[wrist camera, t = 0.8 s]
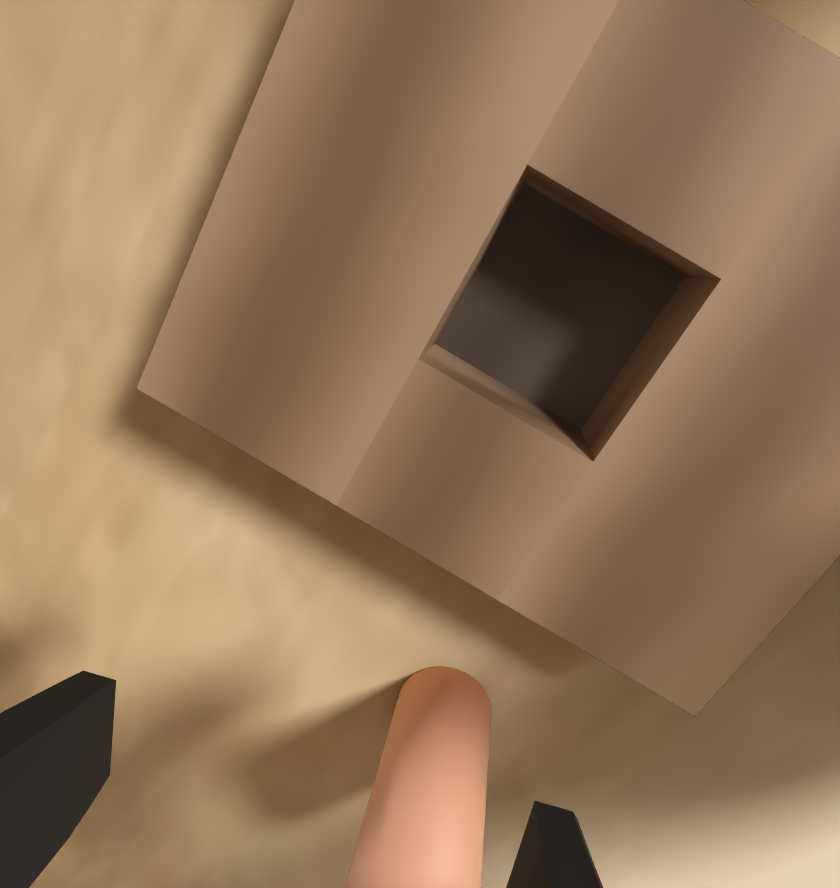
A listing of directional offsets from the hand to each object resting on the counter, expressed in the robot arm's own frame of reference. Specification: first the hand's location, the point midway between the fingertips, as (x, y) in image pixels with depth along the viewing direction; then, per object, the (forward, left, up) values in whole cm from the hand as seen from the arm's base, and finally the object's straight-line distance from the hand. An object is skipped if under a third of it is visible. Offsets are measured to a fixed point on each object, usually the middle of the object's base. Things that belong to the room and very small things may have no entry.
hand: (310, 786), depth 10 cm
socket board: (0, -8, -10) cm, 13 cm away
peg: (-4, +5, -10) cm, 12 cm away
